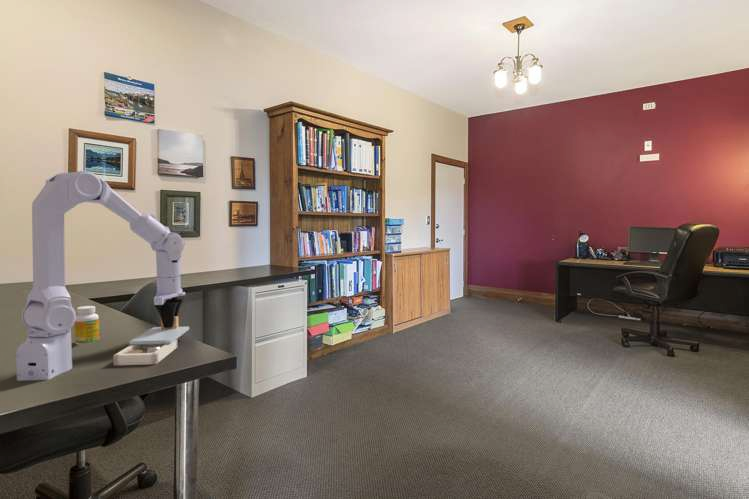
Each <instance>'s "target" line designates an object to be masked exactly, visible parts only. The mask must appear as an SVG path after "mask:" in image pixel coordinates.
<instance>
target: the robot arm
mask: <svg viewBox="0 0 749 499" xmlns="http://www.w3.org/2000/svg"><path fill="white" fill-rule="evenodd" d="M86 202H87V203H93V204H98V205H102V206H103V207H104V208H106V209H107V210H109V211H110V212H112V213H113V214H115V215H116V216H118V217H120V218H121V219H122V220H125V221H126V222H127V223H129V226H130V227H129V228H130V231H131V232H133V233H135V234H136V235H137V236H139V237H140V238H141V239H142V240H144V241H146V242H147V243H148V244H150V248H151V249H152V250H153V251H154V252H155V256H156V257H155V262H156V264H155V265H156V266H155V267H156V293H155V294H156V295H155V296H154V297H153V306H154V307H155V308H156V310H157V311H158V314H159V316H160V320H161V319H162V323H163V326H164V328H171V327H173V324H174V316H178V317H179V314H180V312H179V311H180V309H181V306H182V305H183V302H184V298H183V296H186V292H185V291H183V288H182V287H181V257H182V251H183V250H184V248H185V244H186V243H185V242H184V240H183V237H182V236H181V235H180V234H179V233H177V232H171V231H170V227H168V226H166V225H164V224H162V223H161V222H160V221H159V220H157V219H156V218H157V216H156V215H154V214H153V213H151V214H150V213H148V212H143V213H142V212H140V211H138V210H137V209H136V208H134V207H133V205H131V204H130V203H129V202H128V201H126V200H125V199H124V198H123V197H122V196H121V195H119V193H117V192H116V191H115V190H114V189H112V188H111V187H110V185H109V184H108V183H107V181H106V180H104V179H101V178H99V176H97V175H96V173H93V172H92V171H88V170H79V171H75V172H61V173H60V172H59V173H58V174H55V175H53V176H52V177H49V178H48V179H46V180H45V183H44V186H43V187H42V189H41V190H40V191H39V193H38V194H37V196H36V197H35V198H34V200H33V201H32V204H31V223H32V224H31V226H32V227H31V228H32V230H31V232H32V236H31V237H32V289H31V290H30V292H28V294H27V295H26V296H27V297H26V304H25V306H24V308H23V310H22V312H21V320H22V323H23V324H25V326H26V327H28V330H27V337H26V340H25V341H24V342H23V343H21V344H20V345H19V346H18V347H17V349H16V353H15V364H16V365H15V367H16V368H15V369H16V381H19V382H22V381H23V382H24V381H44V380H45V381H46V380H47V381H48V380H51V379H53V378H54V377H56V376H58V375H61V374H63V373H65V372H69V371H70V370H72V369H73V353H72V352H73V351H72V350H73V348H72V328H73V326H75V324H74V323H75V321H76V316H77V313H76V312H77V311H76V309H74V307H73V305H72V297H71V295H70V293H69V292H68V290H67V288H66V258H65V257H66V256H65V255H66V252H65V251H66V249H65V248H66V247H65V245H66V242H65V236H66V235H65V215H66V213H68V212H69V211H71V210H72V209H73V208H75V207H76V206H78V205H81V204H82V203H86ZM181 296H182V297H181Z"/></svg>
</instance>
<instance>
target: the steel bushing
mask: <svg viewBox="0 0 749 499" xmlns="http://www.w3.org/2000/svg"><path fill="white" fill-rule="evenodd" d="M158 349H160V346H151V347H148V348H147V353H154V352H155V351H157V350H158Z"/></svg>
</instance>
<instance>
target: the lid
mask: <svg viewBox="0 0 749 499" xmlns="http://www.w3.org/2000/svg"><path fill="white" fill-rule="evenodd" d="M189 330H190V326H180V325H179V315H178V316H174V324H173V327H171V328H164V326H163V323H162V319H161V318H160V326H158V327H157V326H154V327H151V328H150V329H148V330H146V331H144V332H143V333H141V334H140V335H137V336H136V337H134V338H132V339H131V340H129V342H128V344H129V345H132V344H168V343H172V342H173V341H174V340H176V339H177V338H178V339H179V338H180V337H181V336H182V335H184V334H185V333H186V332H189Z"/></svg>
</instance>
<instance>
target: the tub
mask: <svg viewBox="0 0 749 499" xmlns="http://www.w3.org/2000/svg"><path fill="white" fill-rule="evenodd" d="M178 339H179V337H178V338H177V339H176V340H174V341H173V342H172V343H168V344H129V345H128V346H127V347H125V348H123V349H122V350H120V351H118V352H117V353H115V354H113V356H112V357H113V358H112V360H113V361H112V363H113V366H139V365H140V366H141V365H158V364H159V363H160V362H161V361H162V360H163V359H165V358H166V357H167V356H168V355H170V354H171V353H172V352H174V351H175V350H176V349H177V348H178V344H179V343H178V342H179V341H178ZM151 346H160V349H158V350H157V351H155V352H154V353H147V348H148V347H151ZM130 350H143V353H139V354H125V353H126V352H128V351H130Z"/></svg>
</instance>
